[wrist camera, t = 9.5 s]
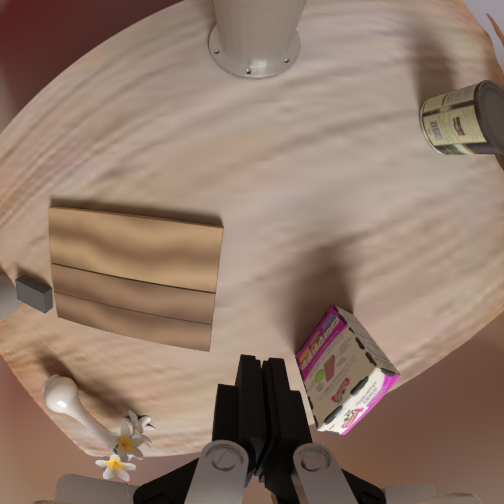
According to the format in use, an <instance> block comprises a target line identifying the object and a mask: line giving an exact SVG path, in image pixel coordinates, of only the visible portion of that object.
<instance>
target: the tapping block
mask: <svg viewBox="0 0 504 504" xmlns="http://www.w3.org/2000/svg"><path fill="white" fill-rule="evenodd" d="M15 282H16V293H17V299H18V300H20V301H22V302H24V303H26V304H28V305H29V306H31V307H33V308H35V309H37V310H39V311H41V312H43V313H46V312H48V311H49V310H50V309H51V308H53V300H52V288H51V287H48V286H46V285H44V284H42V283H40V282H37V281H35V280H33V279H31V278H29V277H27V276H25V275H23V276H21V277H19V278H18V279H16V280H15Z"/></svg>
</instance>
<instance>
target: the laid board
mask: <svg viewBox="0 0 504 504" xmlns="http://www.w3.org/2000/svg"><path fill="white" fill-rule="evenodd" d="M51 266H52V277H53V286H54V294H55V301H56V308H57V314H58V317H60V318H63V319H66V320H69V321H72V322H76V323H79V324H82V325H86V326H89V327H93V328H97V329H100V330H104V331H108V332H112V333H116V334H120V335H124V336H128V337H132V338H137V339H141V340H146V341H151V342H156V343H161V344H166V345H171V346H177V347H182V348H188V349H194V350H201V351H208V352H209V349H210V342H211V332H212V322H213V313H214V303H215V295H216V291H215V292H209V291H202V290H195V289H189V288H182V287H176V286H170V285H164V284H158V283H152V282H146V281H141V280H135V279H130V278H124V277H119V276H114V275H109V274H104V273H99V272H94V271H89V270H84V269H79V268H74V267H70V266H65V265H61V264H56V263H52V264H51Z"/></svg>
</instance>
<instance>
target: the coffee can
mask: <svg viewBox="0 0 504 504" xmlns="http://www.w3.org/2000/svg"><path fill="white" fill-rule="evenodd" d="M420 124H421V128H422V131H423V134H424V136H425V138H426V140H427V142H428V143H429V145H430V146H431V147H432V148H433V149H434V150H435V151H436V152H438V153H440V154H442V155H446V156H448V155H460V154H501V155H504V92H503V91H502V89H501V88H500V87H499V86H498V85H497V84H495V83H494V82H492V81H490V80H484V81H482V82H480V83H478V84H474V85H471V86H467V87H464V88H461V89H458V90H454V91H451V92H448V93H445V94H442V95H439V96H436V97H433V98H429V99H427V100H426V101H425V102H424V103H423V104H422V107H421V110H420Z"/></svg>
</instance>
